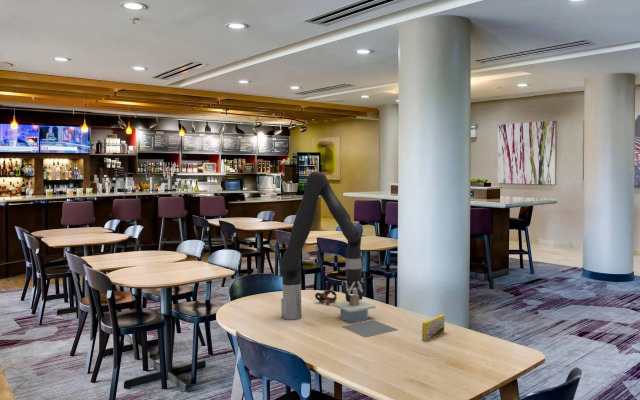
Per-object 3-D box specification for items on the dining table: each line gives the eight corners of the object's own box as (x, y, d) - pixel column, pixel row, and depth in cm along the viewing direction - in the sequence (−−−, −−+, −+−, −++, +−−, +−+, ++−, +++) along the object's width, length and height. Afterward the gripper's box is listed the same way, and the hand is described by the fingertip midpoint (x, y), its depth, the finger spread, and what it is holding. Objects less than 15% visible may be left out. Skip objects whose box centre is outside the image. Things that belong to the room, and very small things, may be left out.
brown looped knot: (334, 301, 298) (338, 290, 294) (333, 312, 290) (337, 301, 286) (313, 296, 297) (317, 285, 293) (312, 307, 289) (316, 296, 285)
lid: (350, 312, 250) (350, 301, 249) (333, 305, 263) (333, 295, 262) (375, 307, 257) (375, 296, 257) (358, 301, 270) (357, 290, 270)
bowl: (351, 324, 252) (350, 311, 251) (336, 317, 263) (336, 306, 262) (373, 319, 258) (372, 307, 258) (357, 313, 269) (357, 302, 269)
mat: (364, 338, 230) (364, 337, 230) (341, 327, 246) (341, 326, 246) (398, 331, 240) (398, 329, 240) (373, 321, 256) (373, 319, 256)
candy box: (425, 342, 224) (425, 323, 224) (421, 341, 226) (421, 322, 225) (445, 332, 236) (444, 314, 236) (440, 332, 238) (440, 313, 237)
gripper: (361, 264, 266) (361, 297, 267) (337, 267, 258) (337, 301, 259) (370, 266, 259) (370, 300, 260) (345, 270, 252) (346, 304, 253)
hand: (354, 300), depth 260 cm, fingers open, 6 cm apart
